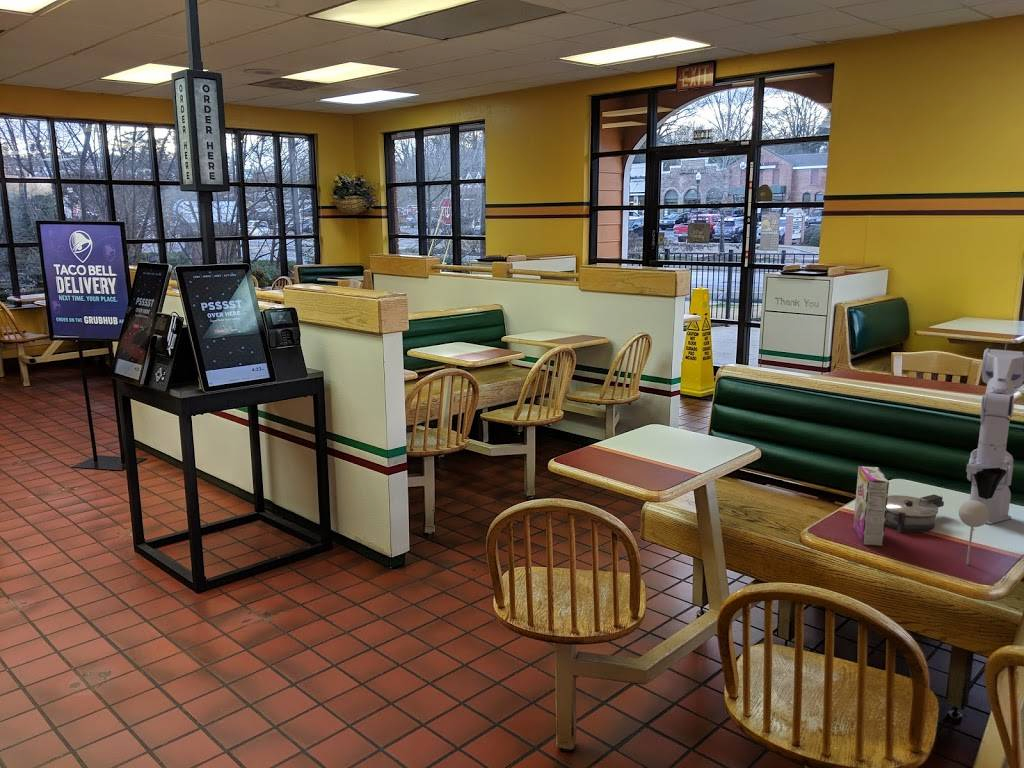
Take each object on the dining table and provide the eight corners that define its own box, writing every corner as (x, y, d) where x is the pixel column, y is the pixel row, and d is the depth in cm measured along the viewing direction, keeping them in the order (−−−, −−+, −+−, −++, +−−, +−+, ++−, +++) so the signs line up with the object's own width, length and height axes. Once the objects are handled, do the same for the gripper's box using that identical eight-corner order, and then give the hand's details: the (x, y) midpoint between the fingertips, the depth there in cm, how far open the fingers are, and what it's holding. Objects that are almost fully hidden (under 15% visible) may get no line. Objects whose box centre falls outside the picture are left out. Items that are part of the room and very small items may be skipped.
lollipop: (958, 556, 185) (966, 494, 182) (986, 564, 180) (995, 501, 177) (947, 563, 181) (955, 500, 178) (976, 572, 176) (984, 508, 173)
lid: (914, 492, 215) (915, 486, 215) (962, 508, 204) (963, 502, 203) (867, 503, 207) (867, 497, 207) (914, 521, 195) (914, 514, 195)
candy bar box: (851, 527, 202) (857, 465, 198) (872, 529, 201) (879, 466, 197) (861, 545, 191) (867, 479, 187) (883, 547, 190) (890, 481, 186)
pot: (915, 506, 216) (917, 488, 215) (961, 522, 205) (963, 503, 204) (864, 518, 207) (866, 500, 206) (909, 536, 196) (911, 517, 195)
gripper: (990, 451, 183) (982, 507, 186) (1027, 443, 190) (1020, 497, 193) (960, 443, 190) (954, 498, 192) (998, 436, 196) (991, 488, 199)
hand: (985, 497), depth 193 cm, fingers closed
